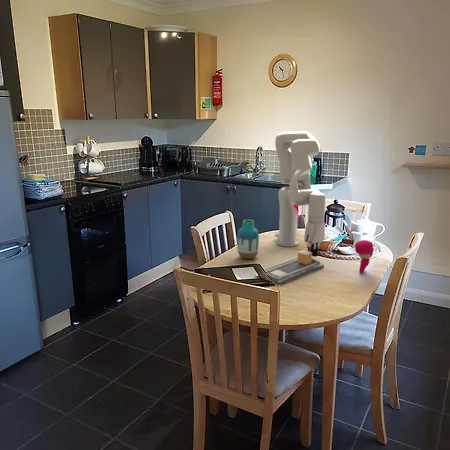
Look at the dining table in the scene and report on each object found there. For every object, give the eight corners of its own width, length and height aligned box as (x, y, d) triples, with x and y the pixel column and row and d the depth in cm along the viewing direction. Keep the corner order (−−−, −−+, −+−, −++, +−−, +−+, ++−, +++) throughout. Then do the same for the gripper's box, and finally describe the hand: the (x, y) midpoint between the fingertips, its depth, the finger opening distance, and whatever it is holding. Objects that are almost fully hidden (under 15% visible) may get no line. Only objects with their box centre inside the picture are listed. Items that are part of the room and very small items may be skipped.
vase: (235, 261, 211) (235, 223, 205) (239, 253, 221) (239, 217, 215) (257, 262, 209) (257, 224, 203) (259, 254, 219) (260, 218, 213)
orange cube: (303, 259, 206) (303, 249, 204) (311, 262, 202) (312, 252, 201) (297, 261, 203) (297, 251, 202) (305, 264, 200) (306, 254, 198)
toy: (372, 276, 191) (375, 244, 187) (353, 274, 193) (355, 243, 189) (370, 269, 199) (373, 238, 195) (351, 268, 201) (354, 237, 197)
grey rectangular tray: (300, 259, 212) (300, 254, 211) (323, 267, 202) (323, 262, 201) (255, 276, 192) (255, 270, 192) (278, 285, 182) (278, 279, 181)
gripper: (319, 214, 209) (317, 250, 214) (299, 220, 200) (297, 257, 205) (332, 217, 204) (329, 254, 209) (312, 223, 194) (310, 261, 199)
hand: (314, 255), depth 207 cm, fingers closed
